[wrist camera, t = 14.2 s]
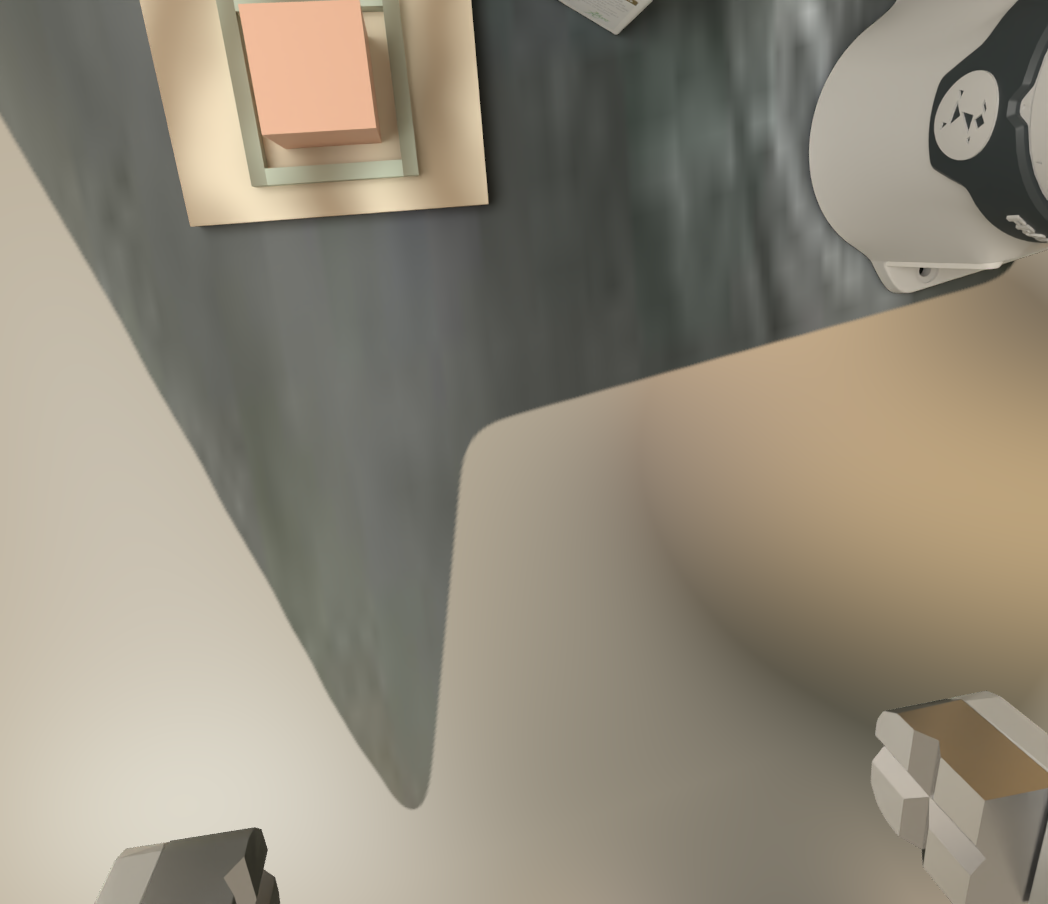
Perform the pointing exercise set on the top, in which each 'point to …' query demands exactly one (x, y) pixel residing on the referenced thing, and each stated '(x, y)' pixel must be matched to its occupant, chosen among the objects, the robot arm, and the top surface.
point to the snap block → (311, 72)
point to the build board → (333, 171)
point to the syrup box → (609, 11)
